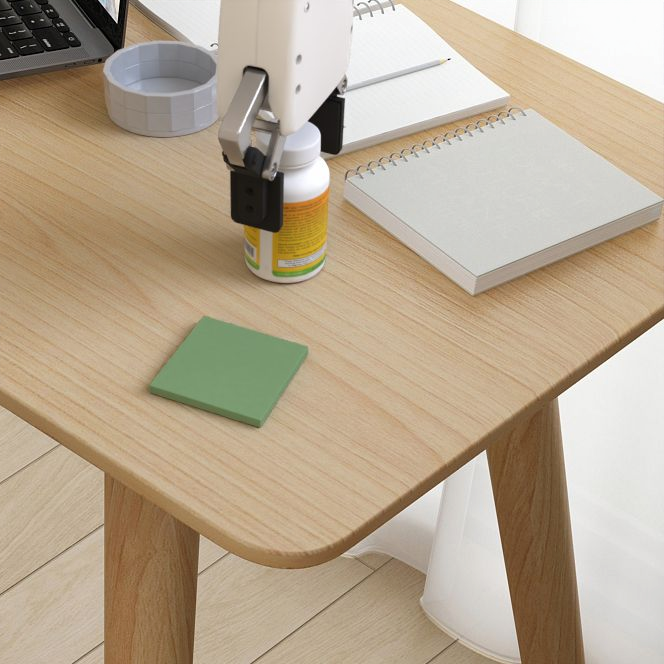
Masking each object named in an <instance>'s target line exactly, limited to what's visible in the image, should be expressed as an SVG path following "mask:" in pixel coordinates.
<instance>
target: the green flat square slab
mask: <svg viewBox="0 0 664 664" xmlns="http://www.w3.org/2000/svg"><path fill="white" fill-rule="evenodd" d="M308 354H309V346H308V345H304V344H301V343H297V342H295V341H291V340H288V339H284V338H280V337H277V336H274V335H270V334H268V333H264V332H260V331H256V330H254V329H250V328H247V327H244V326H241V325H237V324H233V323H230V322H227V321H224V320H220V319H217V318H214V317H211V316H207V315H203V316H202V317H201V318H200V320H199V321H198V322H197V323H196V325H195V326H194V327H193V328H192V330H191V331H190V333H188V335H187V336H186V338H185V339H184V340H183V341H182V343H181V344H180V345H179V346H178V347H177V348H176V351H174V353H173V354H172V355H171V356H170V358H169V359H168V360H167V362H166V363H165V365H164V366H163V367H162V368H161V370H160V371H159V372H158V373H157V375H156V376H155V377H154V378H153V380H152V381H151V382H150V384H149V385H148V387H149V394H153V395H155V396H159V397H161V398H165V399H168V400H171V401H175V402H178V403H181V404H184V405H187V406H191V407H194V408H197V409H200V410H203V411H206V412H208V413H209V412H210V413H213V414H216V415H219V416H221V417H225V418H228V419H231V420H234V421H238V422H241V423H243V424H246V425H251V426H252V427H253V426H254V427H256V428H261V427H262V426H263V424H264V423H265V421H266V420H267V418H268V417H269V415H270V414H271V412H272V410H273V409H274V407H275V406H276V404H277V403H278V401H279V400H280V398H281V396H282V395H283V393H285V390H286V389H287V388H288V386H289V384H290V383H291V381H292V379H293V378H294V376H295V375H296V373H297V372H298V370H299V369H300V367H301V365H302V364H303V363H304V361H305V360H306V358H307V356H308Z"/></svg>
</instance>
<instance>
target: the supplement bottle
mask: <svg viewBox="0 0 664 664" xmlns="http://www.w3.org/2000/svg"><path fill="white" fill-rule="evenodd" d="M268 121H271V122H275V123H277V122H278V119H275V118H271V119H269V120H268ZM270 138H271V135H270V134H266V133H262V132H257V131H255V143H254V147H256V148H258V149H259V150H260V151H261V152H262V153H263V154H264V155H265V156H266V152H267V149H268V145H269V141H270ZM320 150H321V134H320V131H319V129H318V128H317V127H316V126H315V125H313V124H312V123H310V122H308V121H307V122H306V123H305V124H304V125H303V126H302V127H301V128H300V129H299V130H298V131H296V132H295V133H293V134H291V135H289V136H287V138H286V142H285V145H284V149H283V153H282V156H281V160H280V163H279V167H278V171H279V172H282V173H284V201H283V226H282V228H281V229H280V230H279V232H277V233H273V232H269V231H265V230H262V229H258V228H254V227H250V226H247V225H243V251H244V260H245V265H246V267H247V268H248V269H249V270H250V272H251V273H253V274H254V275H255V276H256V277H258V278H260V279H263V280H266V281H268V282H273V283H280V284H291V283H299V282H303V281H307V280H309V279H311V278H313V277H315V276H316V275H317V274H319V273H320V272H321V270H322V269H323V268H324V266H325V263H326V257H327V245H328V244H327V239H328V219H329V202H330V201H329V200H330V185H331V184H330V183H331V177H330V175H331V173H330V169H329V166H328V164H327V162H326V161H325V159H324V158H323V157H322V156H321V152H320Z"/></svg>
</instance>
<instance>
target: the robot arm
mask: <svg viewBox="0 0 664 664" xmlns="http://www.w3.org/2000/svg"><path fill="white" fill-rule="evenodd" d="M354 3H355V1H354V0H220V5H219V18H218V33H217V35H218V36H217V55H216V56H217V113H218V117H219V118H218V120H220V122H221V123H220V126H219V128H218V132H217V139H218V142H219V145H220V147H221V149H222V151H221V156H222V160H223V162H224V163H225V165H226V169H227V171H229V177H230V178H229V183H230V185H229V187H230V189H229V190H230V191H229V192H230V218H231V220H232V221H233V222H234V223H236V224H240V225H243V226H244V225H247V226H250V227H254V228H258V229H262V230H265V231H269V232H273V233H277V232H279V230H280V229H281V228H282V226H283V201H284V173H282V172H279V171H278V167H279V163H280V160H281V156H282V153H283V149H284V145H285V142H286V138H287V136H289V135H291V134H293V133H295V132H296V131H298V130H299V129H300V128H301V127H302V126H303V125H304V124H305V123H306V122H307V121H308V122H310V123H312V124H313V125H315V126H316V127H317V128H318V129H319V131H320V134H321V150H320V153H324V154H329V155H333V156H337V155H339V154H340V153H341V151H342V150H343V146H344V145H343V144H344V143H343V142H344V128H345V125H344V123H345V107H346V106H345V105H346V98H345V97H341V96H344V95H345V93H346V91H347V88H348V82H349V81H348V77H347V75H346V73H347V71H348V69H349V65H350V59H351V53H352V44H353V33H354V31H353V29H354V5H355V4H354ZM260 111H265V112H268V113H272V114H273V119H278V122H277V123H275V122H271V121H269V120H267V119H262V118H258V115H259V113H260ZM252 131H254V132H256V131H257V132H262V133H266V134H270V135H271V138H270V141H269V145H268V149H267V152H266V156H265V155H264V154H263V153H262V152H261V151H260V150H259V149H258V148H256V147H255V146H252V142H253V140H252V136H251V135H252Z"/></svg>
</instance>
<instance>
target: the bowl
mask: <svg viewBox="0 0 664 664" xmlns="http://www.w3.org/2000/svg"><path fill="white" fill-rule="evenodd" d="M217 56H218V55H216V53H214V52H212V51H211V50H209V49H207V48H205V47H204V46H201V45H198V44H193V43H190V42H186V41H181V40H151V41H144V42H137V43H133V44H131V45H128V46H126V47H123V48H120V49H117V50H116V51H115V52H113V53H112V54H111V55H110V56H109V57H108V58H106V59H105V62H104V65H103V69H102V78H103V89H104V100H105V102H104V103H105V106H106V111H107V114H108V117H109V119H110V120H111V121H112V122H113V123H114V124H115V125H116V126H118V127H119V128H121V129H123V130H125V131H127V132H130V133H133V134H137V135H141V136H145V137H153V138H173V137H182V136H187V135H192V134H195V133H198V132H200V131H203V130H205V129H207V128H209V127H211V126H212V125H214V124H215V123H216V122H217V121H218V120H219V117H218V113H217Z"/></svg>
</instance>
